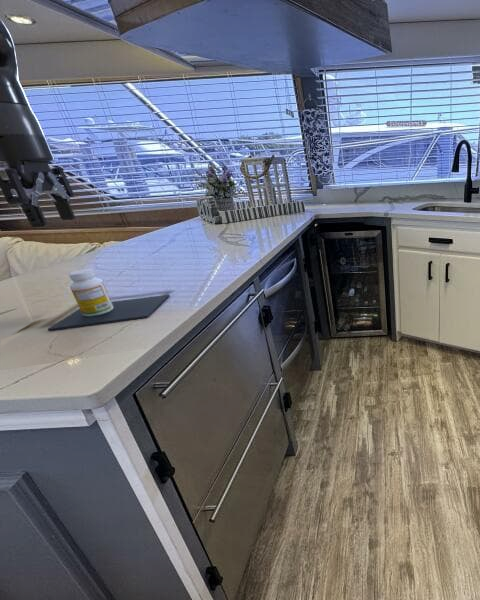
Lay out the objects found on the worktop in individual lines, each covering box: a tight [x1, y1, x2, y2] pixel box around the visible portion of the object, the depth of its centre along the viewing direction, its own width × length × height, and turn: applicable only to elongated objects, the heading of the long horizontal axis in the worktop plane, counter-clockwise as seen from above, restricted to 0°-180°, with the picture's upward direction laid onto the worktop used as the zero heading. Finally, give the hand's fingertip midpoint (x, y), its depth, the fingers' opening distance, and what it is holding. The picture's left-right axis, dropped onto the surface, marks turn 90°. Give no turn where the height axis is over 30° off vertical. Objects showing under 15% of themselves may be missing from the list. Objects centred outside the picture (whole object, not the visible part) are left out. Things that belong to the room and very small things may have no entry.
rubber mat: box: [47, 294, 170, 332], centre depth 74 cm, size 18×13×1 cm
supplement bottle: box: [68, 268, 114, 317], centre depth 71 cm, size 5×5×10 cm
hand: (55, 222), depth 65 cm, fingers open, 8 cm apart
